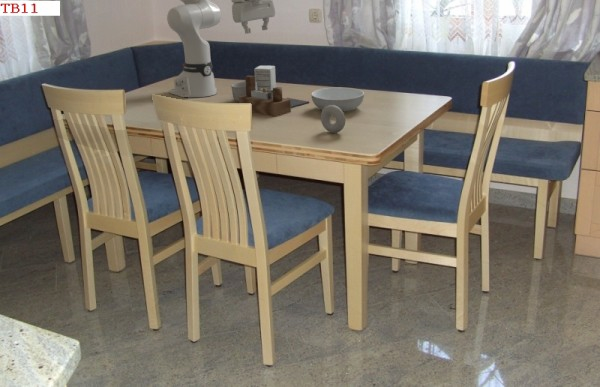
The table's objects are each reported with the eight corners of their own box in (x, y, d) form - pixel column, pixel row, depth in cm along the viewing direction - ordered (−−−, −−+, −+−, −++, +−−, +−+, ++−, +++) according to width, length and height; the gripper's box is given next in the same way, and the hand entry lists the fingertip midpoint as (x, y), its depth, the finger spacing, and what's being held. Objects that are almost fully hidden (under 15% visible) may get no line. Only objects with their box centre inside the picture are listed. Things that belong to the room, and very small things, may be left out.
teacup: (254, 105, 305) (253, 86, 302) (229, 105, 307) (227, 86, 304) (262, 97, 318) (261, 79, 315) (238, 97, 320) (237, 79, 317)
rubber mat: (268, 104, 305) (268, 103, 305) (287, 99, 314) (287, 97, 313) (289, 108, 298) (289, 107, 298) (309, 103, 306) (309, 101, 306)
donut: (319, 131, 264) (318, 104, 261) (324, 129, 267) (324, 102, 263) (341, 136, 258) (341, 108, 255) (347, 133, 261) (347, 105, 257)
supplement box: (260, 93, 325) (259, 65, 321) (276, 94, 323) (275, 65, 319) (255, 97, 318) (253, 68, 314) (271, 98, 316) (270, 68, 312)
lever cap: (251, 98, 295) (250, 88, 294) (261, 95, 299) (260, 86, 298) (267, 101, 290) (267, 91, 288) (277, 98, 293) (277, 89, 292)
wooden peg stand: (239, 109, 299) (237, 77, 295) (255, 105, 306) (253, 73, 301) (275, 116, 287) (273, 83, 282) (290, 111, 293) (289, 79, 288)
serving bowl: (304, 114, 288) (303, 97, 286) (321, 102, 307) (321, 86, 304) (355, 118, 281) (355, 100, 279) (370, 105, 300) (370, 88, 297)
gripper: (265, -7, 295) (269, 28, 299) (227, -2, 281) (232, 35, 285) (276, -8, 291) (280, 28, 295) (239, -3, 277) (243, 35, 281)
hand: (256, 31), depth 290 cm, fingers open, 8 cm apart
